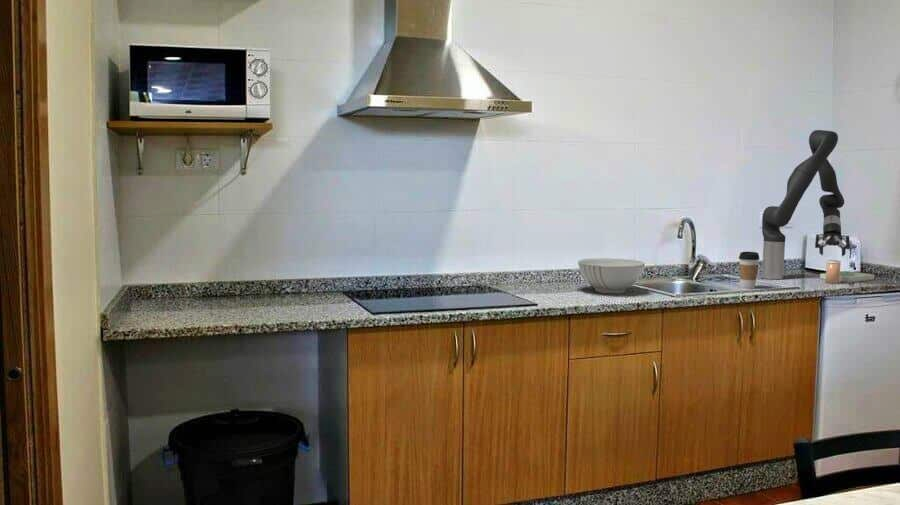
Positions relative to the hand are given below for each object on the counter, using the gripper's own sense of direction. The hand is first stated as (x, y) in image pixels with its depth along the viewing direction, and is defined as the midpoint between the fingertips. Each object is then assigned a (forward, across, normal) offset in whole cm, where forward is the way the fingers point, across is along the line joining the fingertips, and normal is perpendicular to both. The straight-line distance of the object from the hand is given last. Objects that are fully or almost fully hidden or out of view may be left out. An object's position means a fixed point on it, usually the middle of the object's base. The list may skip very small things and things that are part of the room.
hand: (832, 254), depth 352 cm
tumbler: (+14, 0, +3) cm, 14 cm away
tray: (+3, +7, +14) cm, 16 cm away
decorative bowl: (+60, -87, -43) cm, 114 cm away
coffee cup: (+35, -35, -18) cm, 53 cm away
